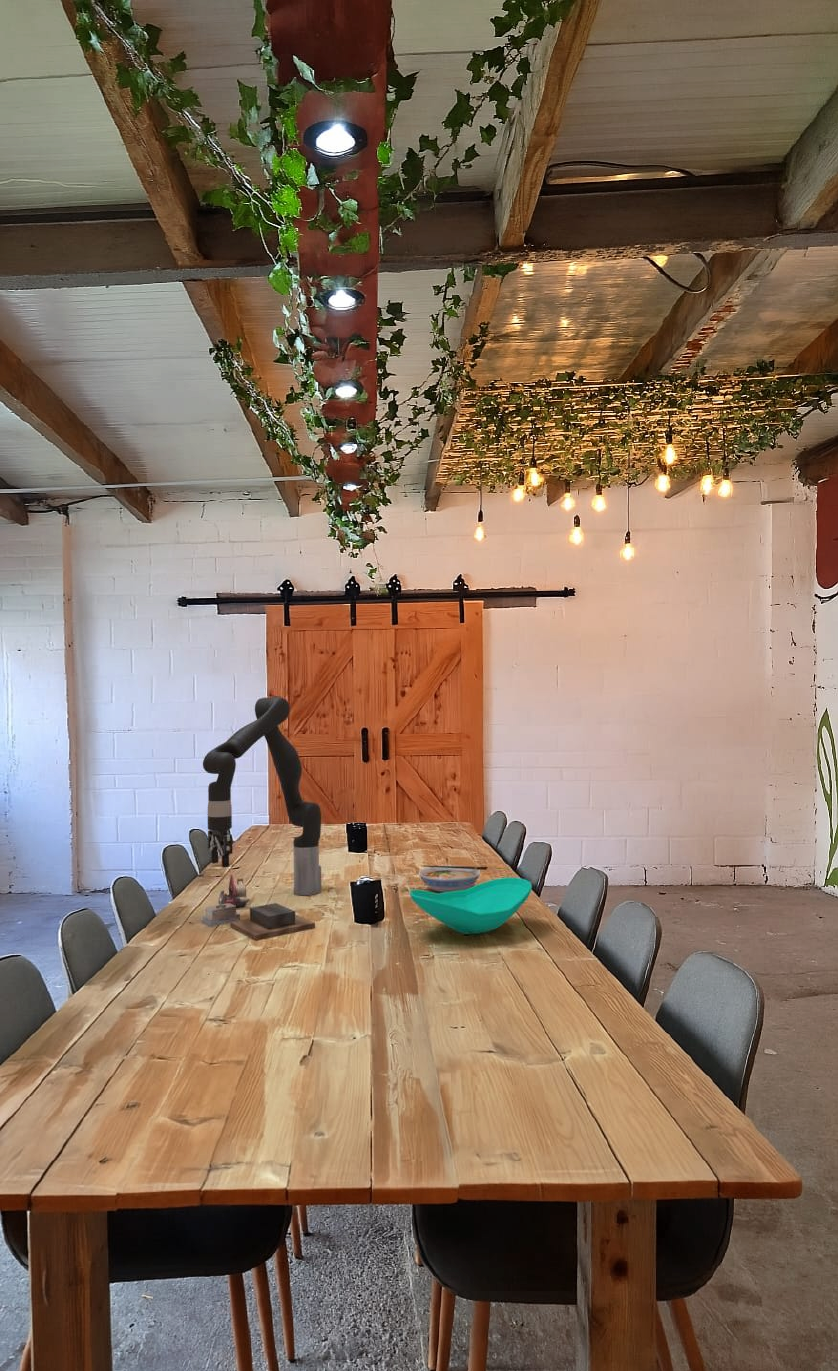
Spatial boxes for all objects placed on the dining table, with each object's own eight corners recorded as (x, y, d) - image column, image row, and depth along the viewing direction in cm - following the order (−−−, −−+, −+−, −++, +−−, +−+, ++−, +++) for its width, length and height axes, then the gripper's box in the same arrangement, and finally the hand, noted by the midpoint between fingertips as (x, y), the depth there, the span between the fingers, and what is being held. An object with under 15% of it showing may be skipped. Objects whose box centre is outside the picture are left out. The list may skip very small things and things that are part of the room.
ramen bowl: (407, 897, 276) (407, 874, 277) (425, 883, 298) (425, 861, 298) (476, 902, 269) (475, 878, 269) (489, 886, 291) (489, 864, 291)
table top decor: (434, 954, 214) (434, 905, 214) (393, 928, 239) (393, 885, 239) (553, 933, 231) (552, 889, 232) (503, 911, 256) (503, 871, 256)
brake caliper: (209, 898, 270) (230, 868, 273) (234, 914, 274) (255, 884, 277) (214, 905, 260) (236, 875, 263) (241, 922, 263) (262, 891, 266)
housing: (231, 917, 254) (231, 901, 254) (240, 921, 249) (239, 905, 249) (202, 923, 248) (202, 906, 248) (210, 927, 243) (210, 911, 243)
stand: (287, 915, 255) (287, 898, 255) (315, 927, 241) (314, 909, 241) (230, 927, 243) (230, 909, 243) (255, 940, 229) (255, 921, 229)
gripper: (239, 815, 246) (240, 867, 246) (221, 811, 257) (222, 860, 257) (217, 818, 241) (217, 870, 241) (200, 813, 253) (200, 863, 252)
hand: (220, 865), depth 249 cm, fingers open, 8 cm apart
